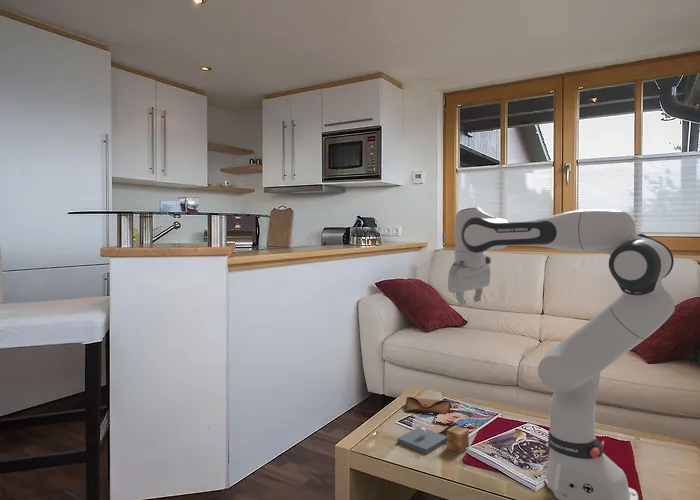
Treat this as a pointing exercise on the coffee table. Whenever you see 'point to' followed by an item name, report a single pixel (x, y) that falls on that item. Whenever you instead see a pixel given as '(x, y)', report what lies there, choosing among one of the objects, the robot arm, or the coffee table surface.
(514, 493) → the coffee table surface
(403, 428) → the coffee table surface
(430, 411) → the sunglasses case
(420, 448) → the carrier plate
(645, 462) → the coffee table surface
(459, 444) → the block
